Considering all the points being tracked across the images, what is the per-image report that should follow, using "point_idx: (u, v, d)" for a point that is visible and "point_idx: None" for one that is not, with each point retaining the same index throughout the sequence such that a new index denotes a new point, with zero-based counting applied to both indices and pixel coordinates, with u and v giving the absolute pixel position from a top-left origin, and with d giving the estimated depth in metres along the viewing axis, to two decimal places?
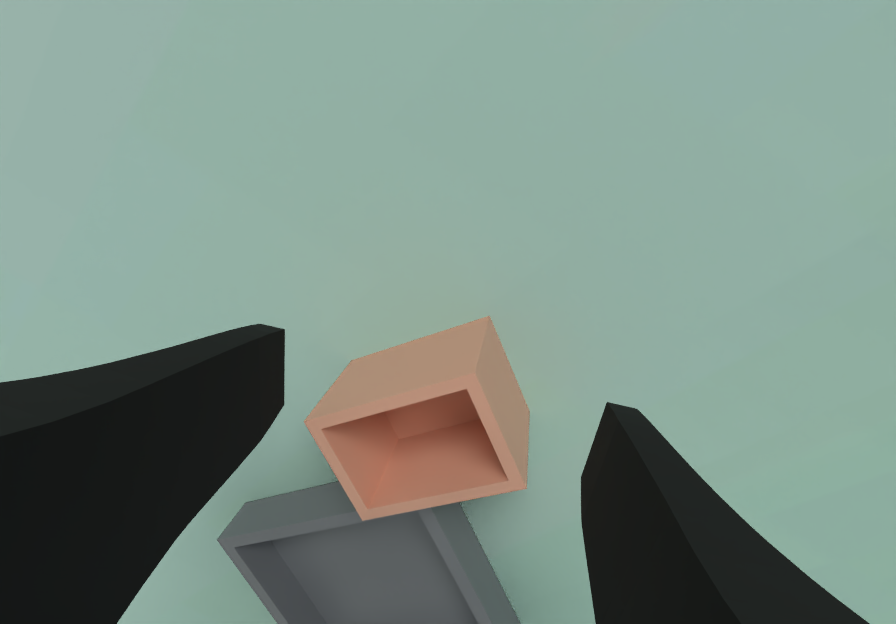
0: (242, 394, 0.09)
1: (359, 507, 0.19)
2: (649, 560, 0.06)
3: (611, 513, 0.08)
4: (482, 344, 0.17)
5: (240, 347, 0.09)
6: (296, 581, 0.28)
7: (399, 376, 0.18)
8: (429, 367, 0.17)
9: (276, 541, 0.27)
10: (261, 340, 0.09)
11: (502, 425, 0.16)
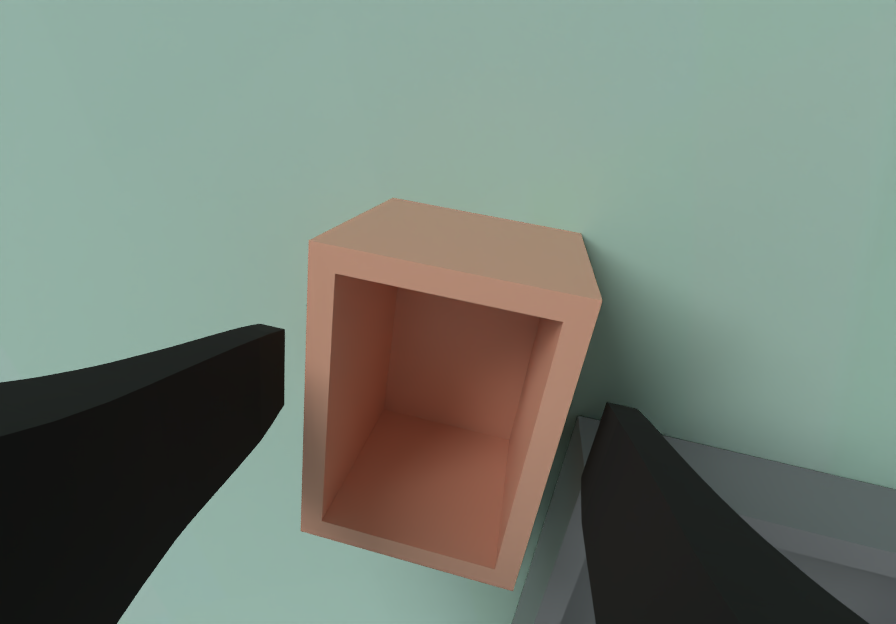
0: (242, 394, 0.09)
1: (484, 576, 0.10)
2: (649, 560, 0.06)
3: (610, 513, 0.08)
4: (357, 217, 0.10)
5: (240, 347, 0.09)
6: None
7: None
8: None
9: None
10: (261, 340, 0.09)
11: (452, 262, 0.08)
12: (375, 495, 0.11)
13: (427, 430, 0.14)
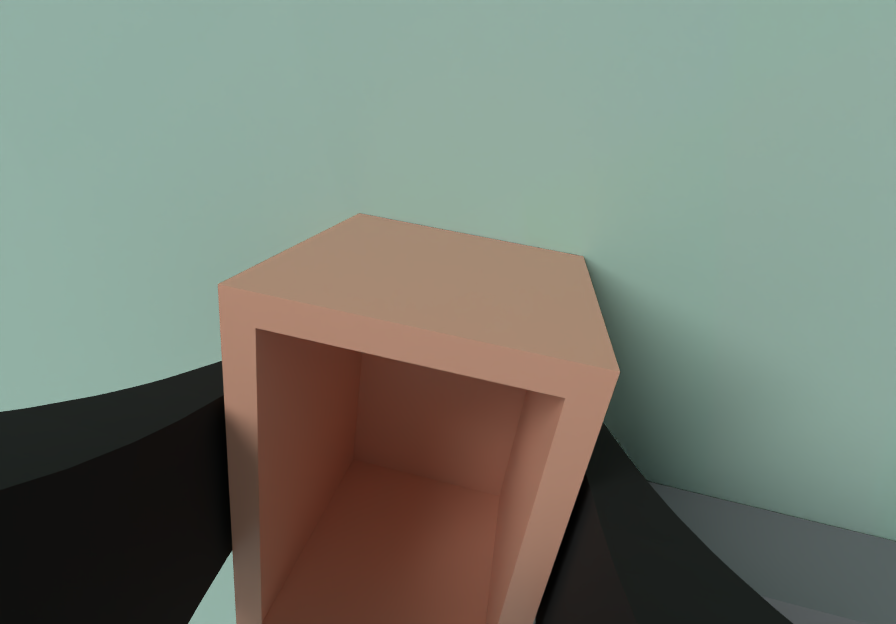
0: None
1: None
2: (573, 540, 0.06)
3: None
4: (301, 244, 0.08)
5: None
6: None
7: None
8: None
9: None
10: None
11: (415, 312, 0.06)
12: (333, 581, 0.09)
13: (402, 487, 0.12)
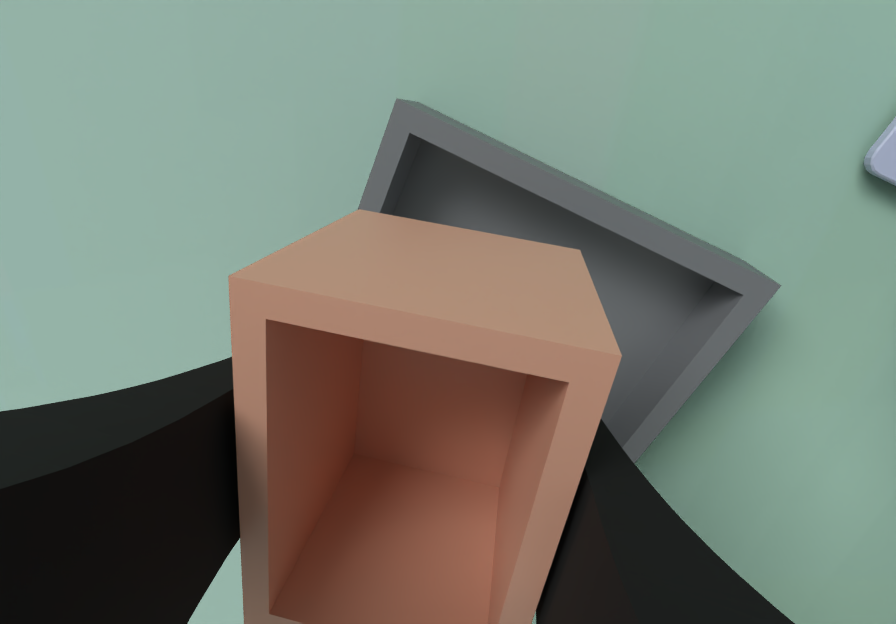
0: None
1: None
2: (574, 541, 0.06)
3: None
4: (305, 238, 0.08)
5: None
6: None
7: None
8: None
9: None
10: None
11: (422, 302, 0.06)
12: (338, 572, 0.09)
13: (403, 479, 0.12)
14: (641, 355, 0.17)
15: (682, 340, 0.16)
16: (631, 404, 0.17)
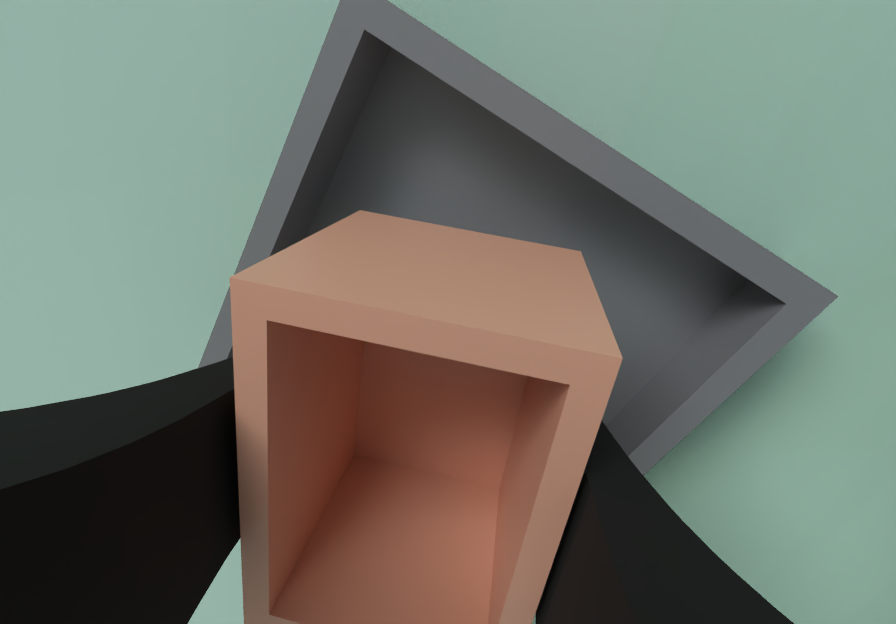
0: None
1: None
2: (574, 540, 0.06)
3: None
4: (307, 239, 0.08)
5: None
6: None
7: None
8: None
9: None
10: None
11: (423, 303, 0.06)
12: (338, 573, 0.09)
13: (404, 480, 0.12)
14: (637, 368, 0.14)
15: (692, 354, 0.12)
16: (618, 427, 0.14)
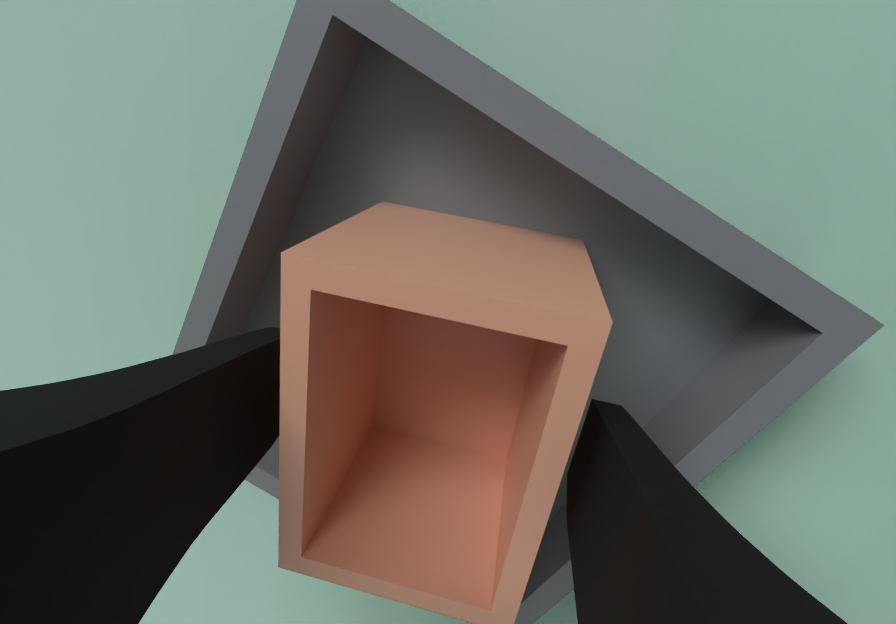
0: (257, 397, 0.09)
1: (479, 618, 0.09)
2: (626, 554, 0.06)
3: (593, 509, 0.08)
4: (339, 224, 0.09)
5: (255, 350, 0.09)
6: None
7: None
8: None
9: None
10: (275, 343, 0.09)
11: (443, 277, 0.07)
12: (361, 525, 0.11)
13: (418, 451, 0.13)
14: (646, 397, 0.12)
15: (710, 385, 0.11)
16: None
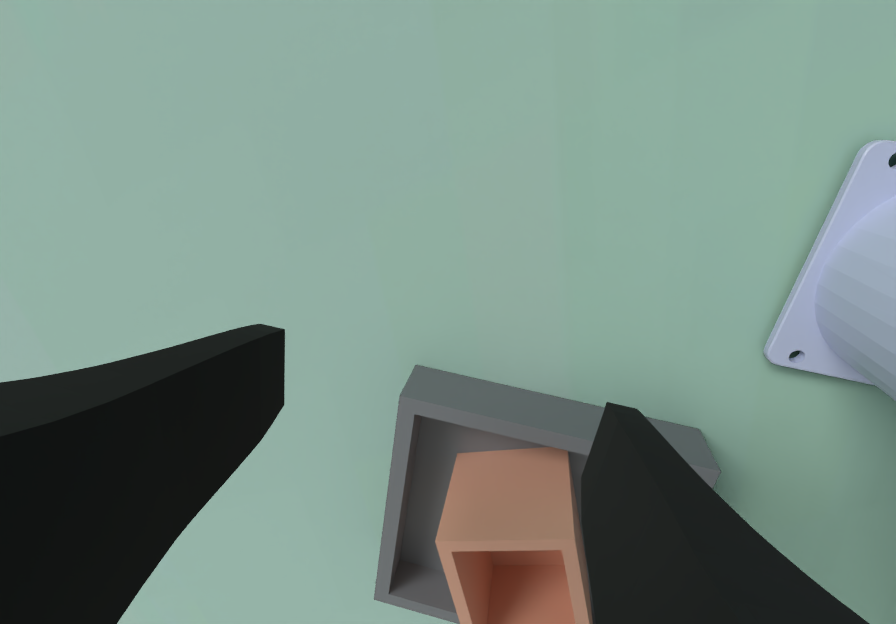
0: (242, 394, 0.09)
1: None
2: (649, 560, 0.06)
3: (610, 513, 0.08)
4: (446, 498, 0.19)
5: (240, 347, 0.09)
6: None
7: None
8: None
9: (434, 564, 0.25)
10: (261, 340, 0.09)
11: (502, 531, 0.17)
12: None
13: (523, 574, 0.22)
14: None
15: None
16: None
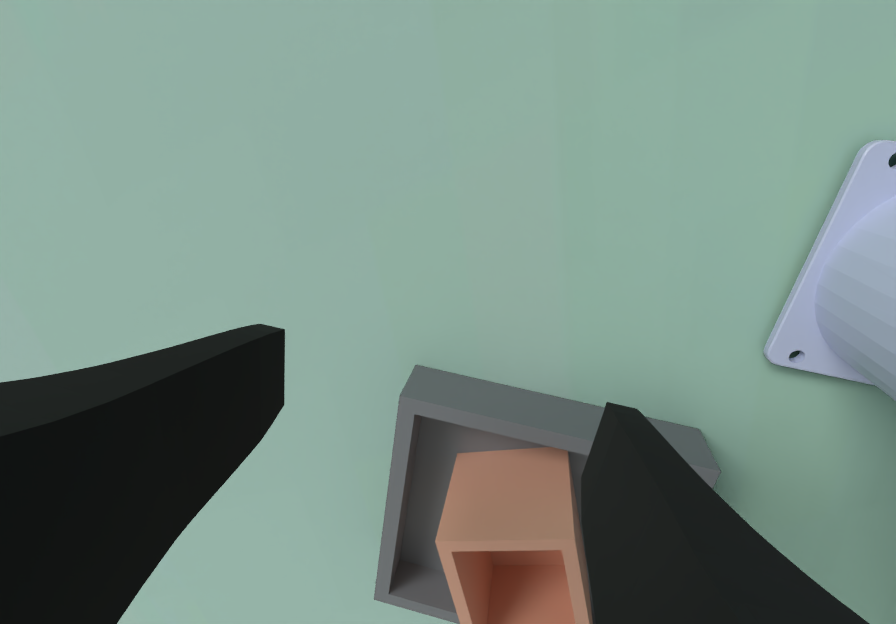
0: (242, 394, 0.09)
1: None
2: (649, 560, 0.06)
3: (610, 513, 0.08)
4: (446, 498, 0.19)
5: (240, 347, 0.09)
6: None
7: None
8: None
9: (434, 564, 0.25)
10: (261, 340, 0.09)
11: (502, 531, 0.17)
12: None
13: (523, 574, 0.22)
14: None
15: None
16: None
